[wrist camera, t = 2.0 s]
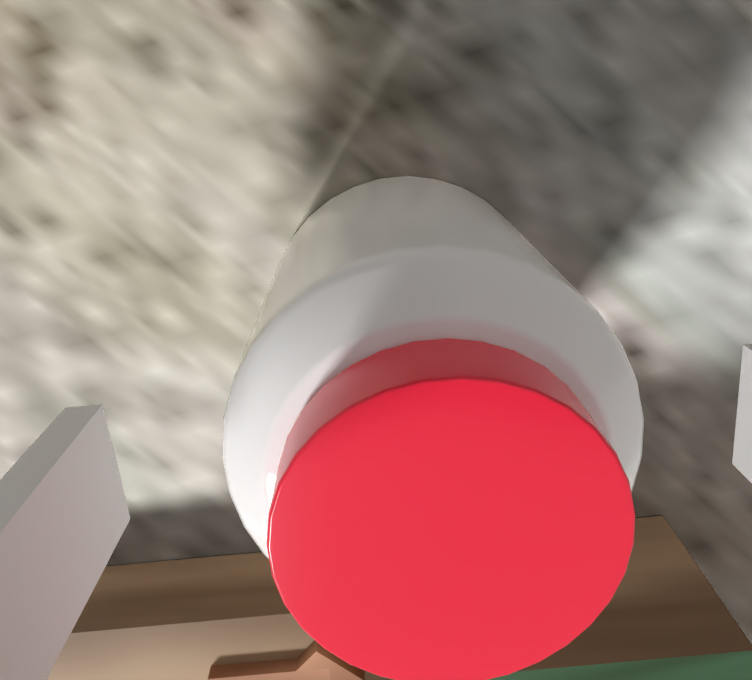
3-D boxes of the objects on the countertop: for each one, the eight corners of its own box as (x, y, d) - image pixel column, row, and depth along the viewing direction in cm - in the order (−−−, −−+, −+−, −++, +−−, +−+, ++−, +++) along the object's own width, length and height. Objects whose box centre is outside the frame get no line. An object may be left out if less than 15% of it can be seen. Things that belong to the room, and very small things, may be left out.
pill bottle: (304, 446, 22) (260, 771, 12) (242, 204, 20) (115, 356, 9) (548, 402, 22) (718, 697, 12) (520, 150, 19) (710, 245, 9)
